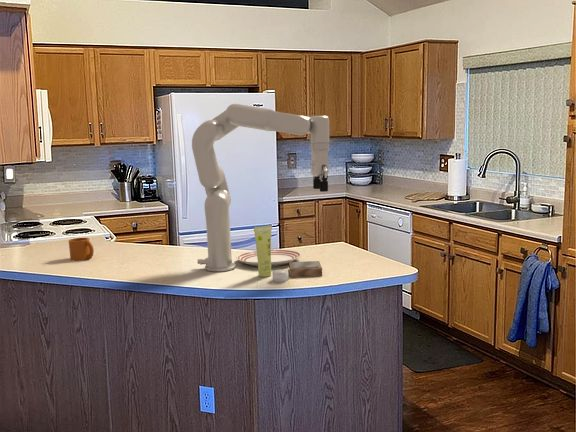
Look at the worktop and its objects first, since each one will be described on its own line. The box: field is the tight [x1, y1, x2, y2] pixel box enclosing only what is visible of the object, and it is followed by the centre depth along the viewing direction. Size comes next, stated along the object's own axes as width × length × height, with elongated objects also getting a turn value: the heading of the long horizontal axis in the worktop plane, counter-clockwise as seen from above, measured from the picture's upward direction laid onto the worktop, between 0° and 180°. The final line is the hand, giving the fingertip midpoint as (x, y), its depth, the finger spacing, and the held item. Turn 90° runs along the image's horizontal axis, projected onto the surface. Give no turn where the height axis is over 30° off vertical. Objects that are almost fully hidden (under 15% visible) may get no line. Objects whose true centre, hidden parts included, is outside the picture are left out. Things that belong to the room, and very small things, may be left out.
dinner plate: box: [236, 248, 302, 268], centre depth 263 cm, size 28×27×3 cm
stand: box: [288, 260, 323, 278], centre depth 243 cm, size 12×12×3 cm
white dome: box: [271, 269, 290, 283], centre depth 233 cm, size 6×6×4 cm
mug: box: [68, 237, 95, 262], centre depth 280 cm, size 9×12×9 cm
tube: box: [253, 224, 273, 278], centre depth 239 cm, size 6×5×20 cm
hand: (320, 190), depth 250 cm, fingers open, 9 cm apart
